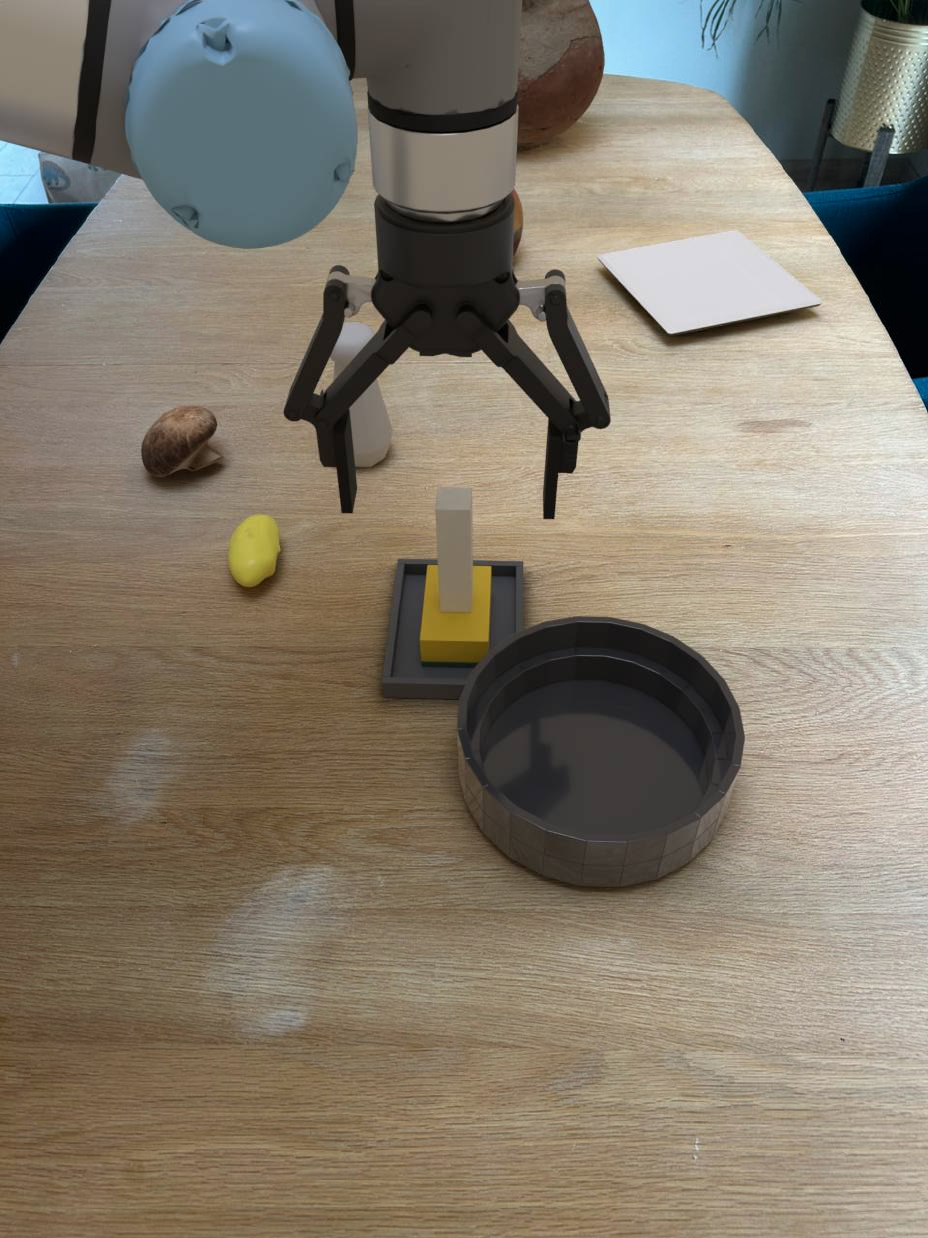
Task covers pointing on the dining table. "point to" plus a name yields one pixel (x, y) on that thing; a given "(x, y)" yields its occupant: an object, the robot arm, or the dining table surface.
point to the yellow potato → (254, 550)
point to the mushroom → (180, 441)
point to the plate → (707, 282)
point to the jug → (556, 68)
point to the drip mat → (405, 628)
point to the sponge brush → (455, 589)
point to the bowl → (598, 750)
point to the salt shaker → (363, 400)
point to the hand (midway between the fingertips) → (448, 504)
